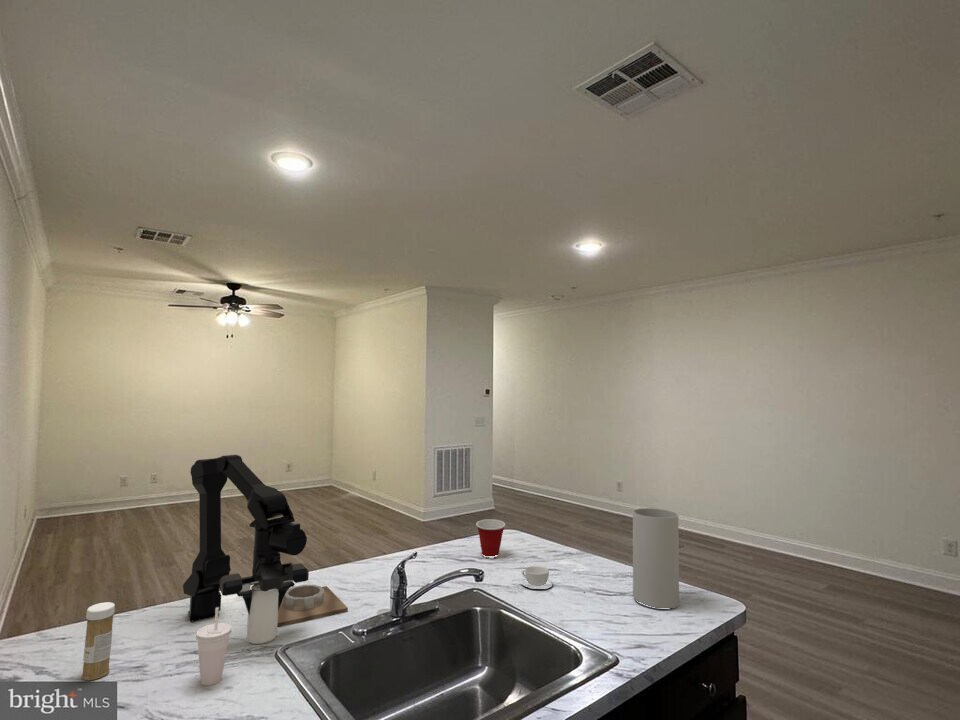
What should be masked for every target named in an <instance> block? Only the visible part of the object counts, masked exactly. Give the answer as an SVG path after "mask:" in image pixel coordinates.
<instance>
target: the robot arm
mask: <svg viewBox="0 0 960 720" xmlns="http://www.w3.org/2000/svg"><path fill="white" fill-rule="evenodd" d="M190 475H191V483H192V484H191V485H192V486H193V487H194V489H195V490H196V492H197V493H198V495H199V500H198V501H199V508H198V509H199V552H198V553H197V555H196V557H195V559H194V561H193V562H192V567H191V574H190V575H189V577H188V578H187V579H186V580H185V582H184V583H182V591H183V594H184V595H187V596H189V609H188V611H187V615H188V619H189V622H196V621H197V622H198V621H203V620H207V619H212V618H215V610H216V608H217V607H218V608H219V612H221V605H222V596H225V597H226V596H232V595H233V596H234V595H237V596H238V597H242V599H243V601H244V604H245V608H246V611H247V614H248V613H249V614H250V607H251V601H252V591H251V586H253V585H254V584H259V585H260V590H261V591H268V590H271V589H278V590H279V596H278V610H279V608H280V605H281V603H282V600H283V598H284V596H285V594H286V592H287V590H288V589H290V588H292V587H295V584H298V583H302V582H307V581H309V578H310V577H309V576H310V575H309V574H310V572H309V569H308V568H307V567H306V566H305V565H304V564H303V563H301V562H300V563H295V564H293V563H292V562H288V563H282V561H281V554H286V555H290V556H293V557H294V556H297V555H299V554H301V553H302V552H303V551H304V549H305V547H306V544H307V542H308V541H307V539H308V537H307V535H306V532H305V531H304V530H303V529H301V523H297V522H295V517H294V513H293V512H292V510H291V508H290V505H289V502H288V500H287V497H286V495H284V493H283V492H282V491H280V490H279V489H277V488H275V487H272V486H269V485H267V484H265V483H264V482H263V481H262V480H261V479H260V478H259V477H258V476H257V475H256V474H255V473H254V471H252V470H251V468H249V467H248V465H246V463H245V462H244V461H243V458H242V456H241V455H240V454H239V455H238V454H227V455H226V454H225V455H221V456H220V457H215V458H213V457H212V458H204V459H198V460H196V461H195V462H194V464H192V465H191V467H190ZM228 480H229V481H230V482H231V483H232V484H233V485H234V486H235V487H236V488H237V490H239V492H240V493H241V494H242V495H243V496H244V497H245V499H246V501H247V503H246V504H247V506H246V508H247V510H248V511H249V514H250V515H251V517H253V519H254V520H252V521H251V523H249V527H250V528H254V539H253V540H254V541H253V550H252V551H253V553H252V554H253V555H252V556H253V557H252V559H253V560H252V561H253V562H252V575H251V576H250V575H249V576H245V577H242V576H241V574H240V573H239V572H238V573H232V574H230V573H231V570H232V569H231V556H230V555H229V554H226V553H225V552H224V550H223V549H222V502H221V501H222V497H221V496H222V491H223V489H224V487H225V486H226V484H227V482H228ZM219 612H218V617H219V616H220V613H219Z"/></svg>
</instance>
